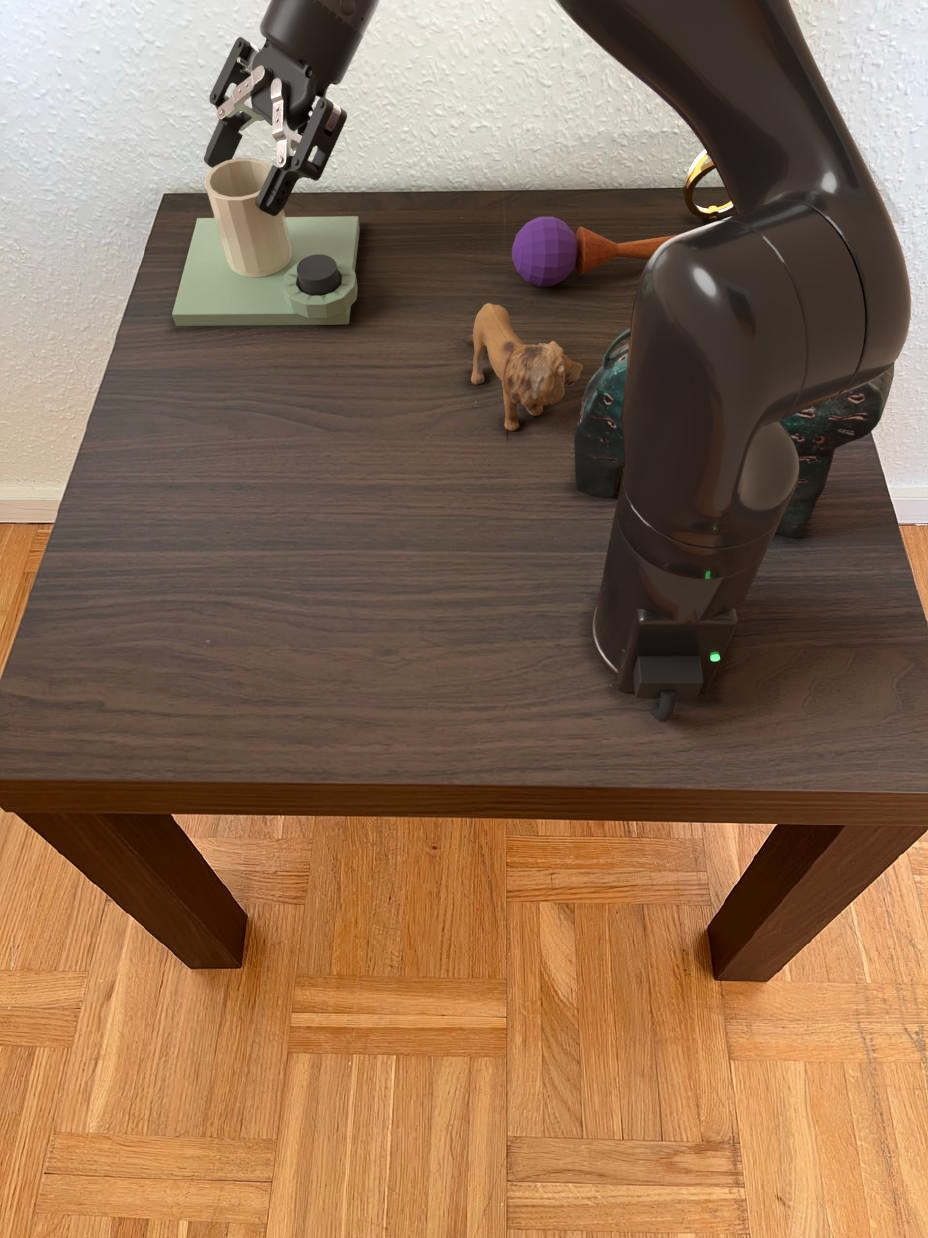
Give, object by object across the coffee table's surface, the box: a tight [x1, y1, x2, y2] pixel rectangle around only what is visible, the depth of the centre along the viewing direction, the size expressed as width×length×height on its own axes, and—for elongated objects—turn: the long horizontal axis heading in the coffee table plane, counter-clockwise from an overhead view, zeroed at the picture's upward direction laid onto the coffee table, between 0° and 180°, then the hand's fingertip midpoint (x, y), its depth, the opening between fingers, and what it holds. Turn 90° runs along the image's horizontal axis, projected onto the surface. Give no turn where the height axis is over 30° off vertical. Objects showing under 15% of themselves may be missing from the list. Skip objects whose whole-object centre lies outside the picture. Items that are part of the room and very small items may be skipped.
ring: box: [682, 148, 735, 222], centre depth 87 cm, size 7×3×8 cm, turn 97°
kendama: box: [511, 215, 678, 288], centre depth 84 cm, size 6×6×20 cm
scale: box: [171, 215, 361, 327], centre depth 86 cm, size 15×17×3 cm
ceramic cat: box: [573, 327, 895, 539], centre depth 63 cm, size 20×6×20 cm, turn 73°
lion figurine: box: [460, 302, 584, 432], centre depth 75 cm, size 15×5×9 cm, turn 33°
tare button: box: [297, 254, 339, 296], centre depth 82 cm, size 4×4×2 cm
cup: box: [204, 157, 292, 277], centre depth 83 cm, size 6×6×8 cm
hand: (238, 188), depth 81 cm, fingers open, 8 cm apart
